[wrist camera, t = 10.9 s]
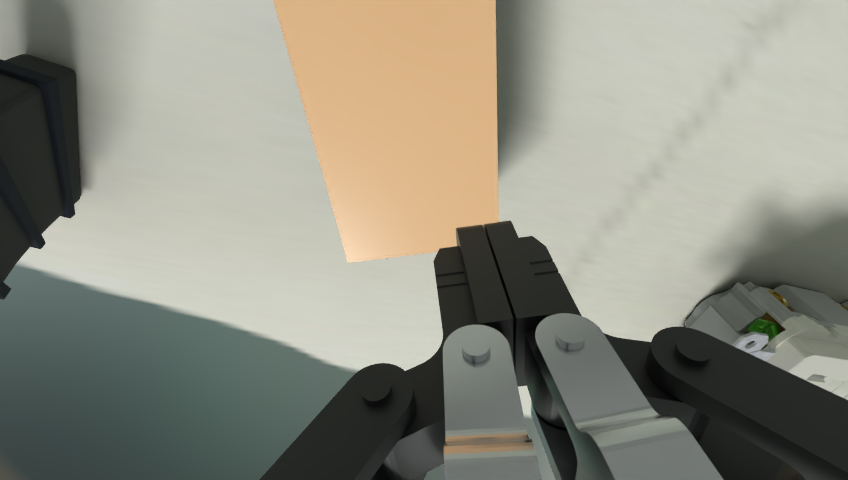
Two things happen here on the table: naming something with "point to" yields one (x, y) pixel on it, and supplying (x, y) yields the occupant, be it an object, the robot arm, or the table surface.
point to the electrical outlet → (782, 330)
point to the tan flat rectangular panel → (399, 116)
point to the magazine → (35, 154)
